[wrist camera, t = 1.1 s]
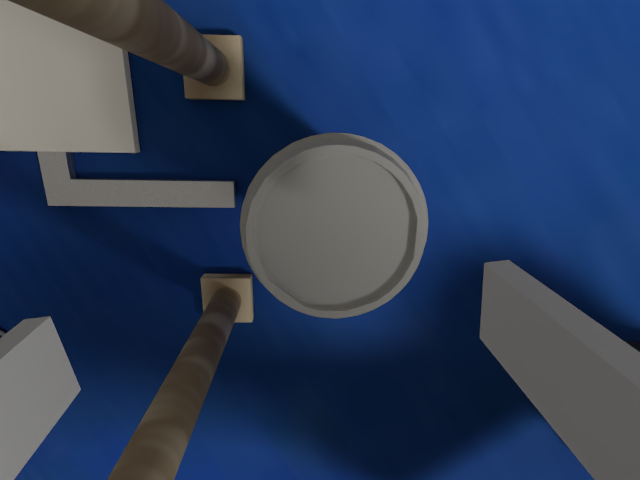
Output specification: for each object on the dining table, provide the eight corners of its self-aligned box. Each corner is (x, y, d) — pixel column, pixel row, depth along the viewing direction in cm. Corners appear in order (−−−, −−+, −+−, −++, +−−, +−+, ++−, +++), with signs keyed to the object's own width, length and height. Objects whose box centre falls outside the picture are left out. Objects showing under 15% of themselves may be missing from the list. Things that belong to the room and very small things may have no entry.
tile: (116, -37, 24) (110, -42, 23) (140, 152, 27) (135, 152, 26) (-74, -43, 23) (-87, -49, 23) (-25, 149, 27) (-35, 150, 26)
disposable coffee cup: (245, 156, 28) (200, 177, 16) (364, 112, 27) (406, 101, 15) (290, 266, 30) (279, 350, 19) (399, 228, 30) (457, 292, 18)
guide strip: (234, 153, 27) (231, 154, 27) (236, 205, 29) (234, 207, 28) (44, 150, 27) (37, 151, 26) (55, 203, 28) (48, 205, 27)
